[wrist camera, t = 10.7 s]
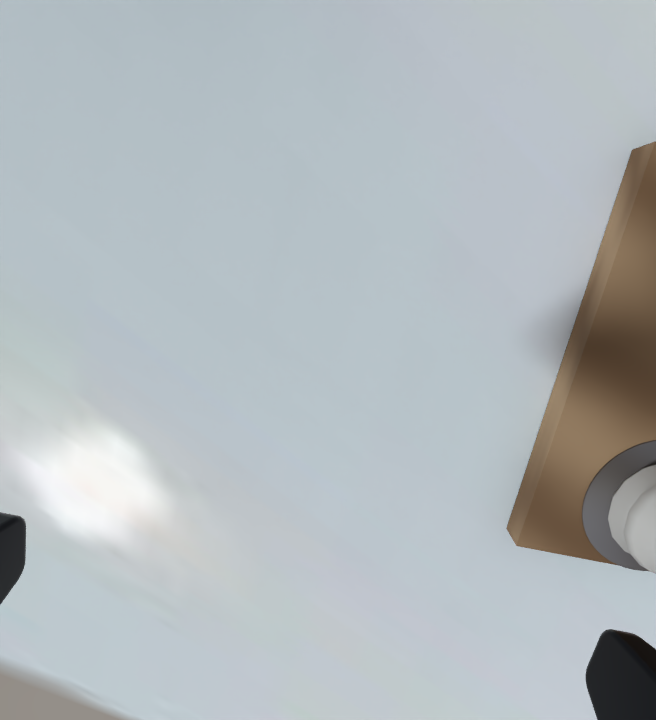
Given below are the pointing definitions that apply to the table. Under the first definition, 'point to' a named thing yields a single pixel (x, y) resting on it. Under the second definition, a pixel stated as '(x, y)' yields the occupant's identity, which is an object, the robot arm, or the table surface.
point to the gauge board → (600, 390)
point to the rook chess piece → (636, 516)
